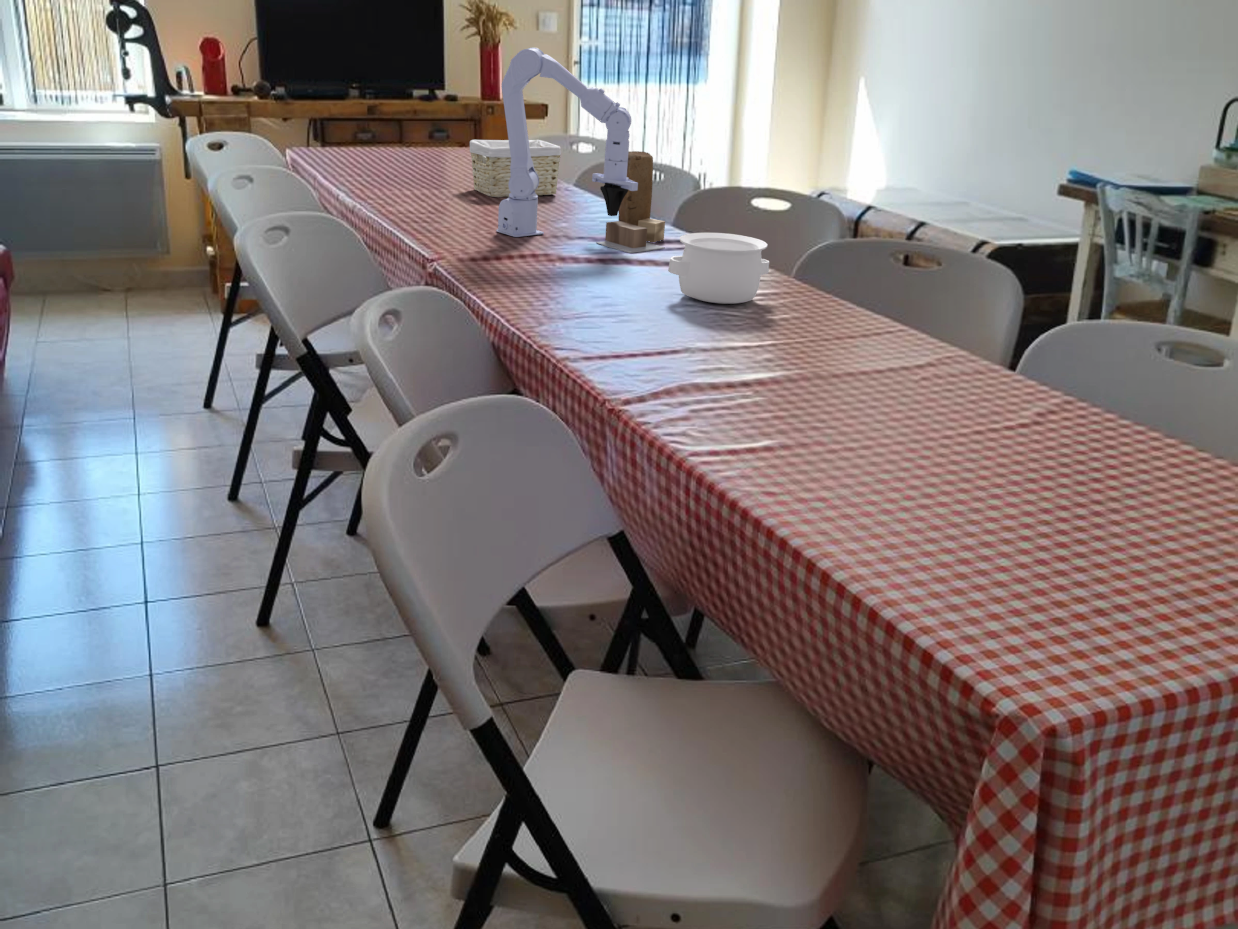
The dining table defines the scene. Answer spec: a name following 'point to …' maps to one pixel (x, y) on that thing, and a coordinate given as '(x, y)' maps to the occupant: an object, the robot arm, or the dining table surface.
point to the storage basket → (496, 160)
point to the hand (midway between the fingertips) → (612, 215)
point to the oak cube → (653, 229)
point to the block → (639, 201)
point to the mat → (631, 250)
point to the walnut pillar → (626, 234)
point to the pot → (720, 267)
